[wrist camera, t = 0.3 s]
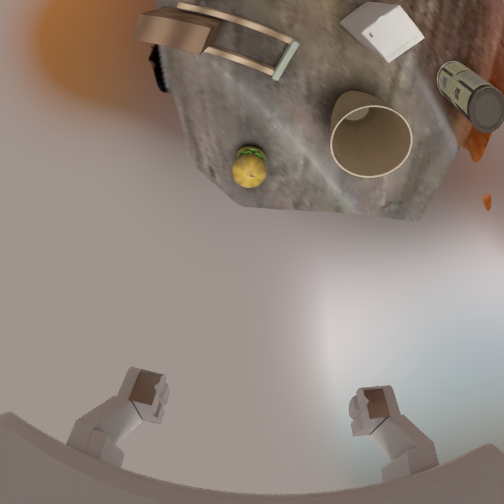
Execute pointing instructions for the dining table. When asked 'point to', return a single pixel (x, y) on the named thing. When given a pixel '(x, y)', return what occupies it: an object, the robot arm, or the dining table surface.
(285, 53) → the end stop
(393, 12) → the skincare box
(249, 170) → the hamburger
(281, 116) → the dining table surface
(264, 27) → the chute
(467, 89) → the coffee can
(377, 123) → the plant pot
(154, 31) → the block
